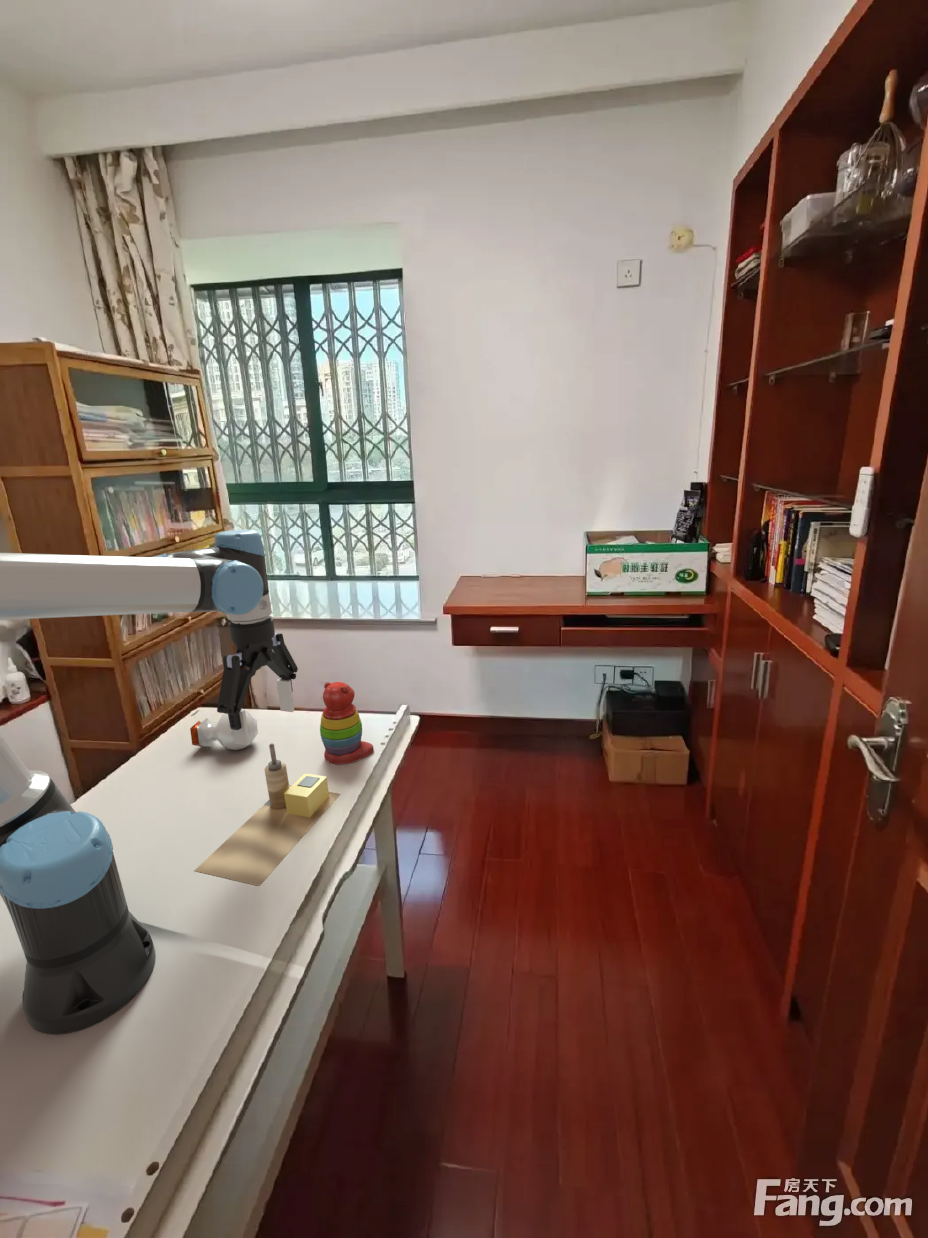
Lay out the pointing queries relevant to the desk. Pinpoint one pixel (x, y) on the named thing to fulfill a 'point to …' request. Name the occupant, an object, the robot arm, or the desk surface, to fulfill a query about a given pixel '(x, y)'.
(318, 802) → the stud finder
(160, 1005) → the desk surface
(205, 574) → the robot arm
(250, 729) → the potion bottle
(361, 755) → the stacking bear
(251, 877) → the board
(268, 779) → the awl
